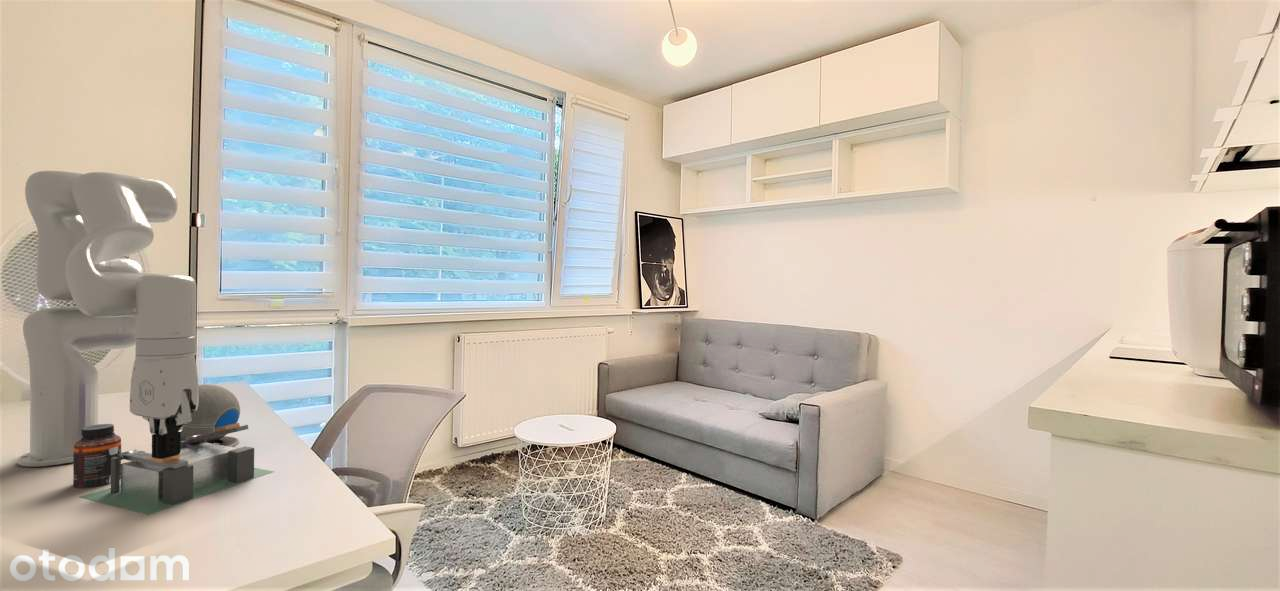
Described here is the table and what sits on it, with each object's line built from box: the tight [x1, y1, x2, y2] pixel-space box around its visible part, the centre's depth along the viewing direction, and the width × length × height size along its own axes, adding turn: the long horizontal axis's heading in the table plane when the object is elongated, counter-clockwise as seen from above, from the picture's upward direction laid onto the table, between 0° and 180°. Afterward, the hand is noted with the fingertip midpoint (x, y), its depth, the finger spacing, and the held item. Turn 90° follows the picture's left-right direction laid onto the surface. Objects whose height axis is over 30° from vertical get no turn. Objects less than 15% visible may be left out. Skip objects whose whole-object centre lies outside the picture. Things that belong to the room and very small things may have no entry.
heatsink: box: [120, 442, 239, 502], centre depth 92 cm, size 10×13×5 cm
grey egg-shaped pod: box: [176, 384, 241, 448], centre depth 112 cm, size 13×13×15 cm
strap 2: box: [185, 422, 249, 444], centre depth 97 cm, size 15×2×2 cm, turn 72°
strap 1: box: [118, 448, 188, 469], centre depth 87 cm, size 15×2×2 cm, turn 72°
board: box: [79, 438, 275, 515], centre depth 92 cm, size 18×20×7 cm
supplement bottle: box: [72, 423, 122, 489], centre depth 92 cm, size 6×6×11 cm
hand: (166, 455), depth 86 cm, fingers closed
